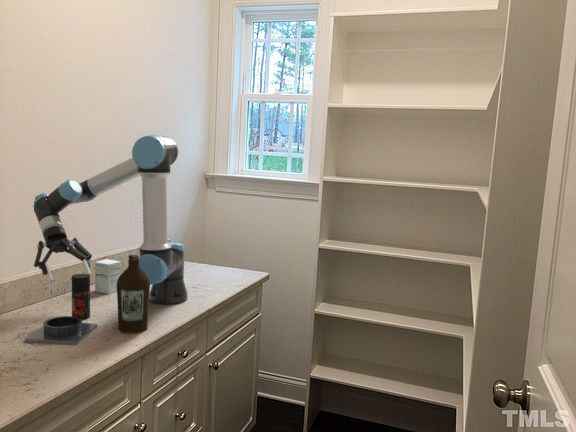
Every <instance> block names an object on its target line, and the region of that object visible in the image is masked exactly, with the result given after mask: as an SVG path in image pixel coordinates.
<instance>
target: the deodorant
mask: <svg viewBox="0 0 576 432" xmlns="http://www.w3.org/2000/svg"><path fill="white" fill-rule="evenodd" d="M71 316H75V317H78V318H81V321H84V320H88V319H90V318H91V275H89V274H85V273H76V274H73V275H71Z"/></svg>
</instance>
